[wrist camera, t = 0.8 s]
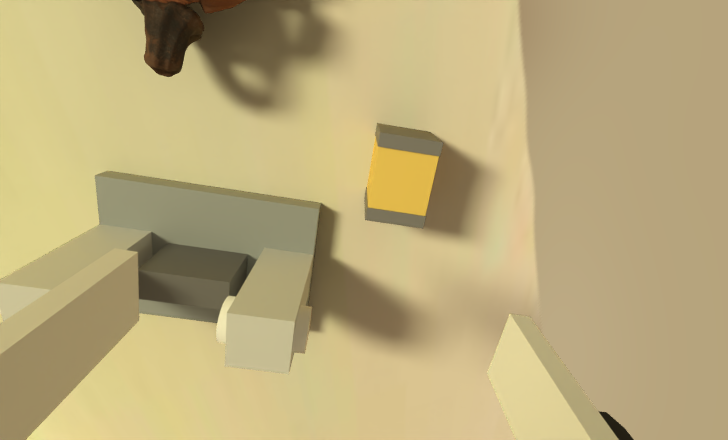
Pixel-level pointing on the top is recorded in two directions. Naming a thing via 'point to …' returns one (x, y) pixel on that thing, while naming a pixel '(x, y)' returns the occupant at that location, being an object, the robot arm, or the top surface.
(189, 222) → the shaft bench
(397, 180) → the box
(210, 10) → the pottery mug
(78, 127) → the top surface
